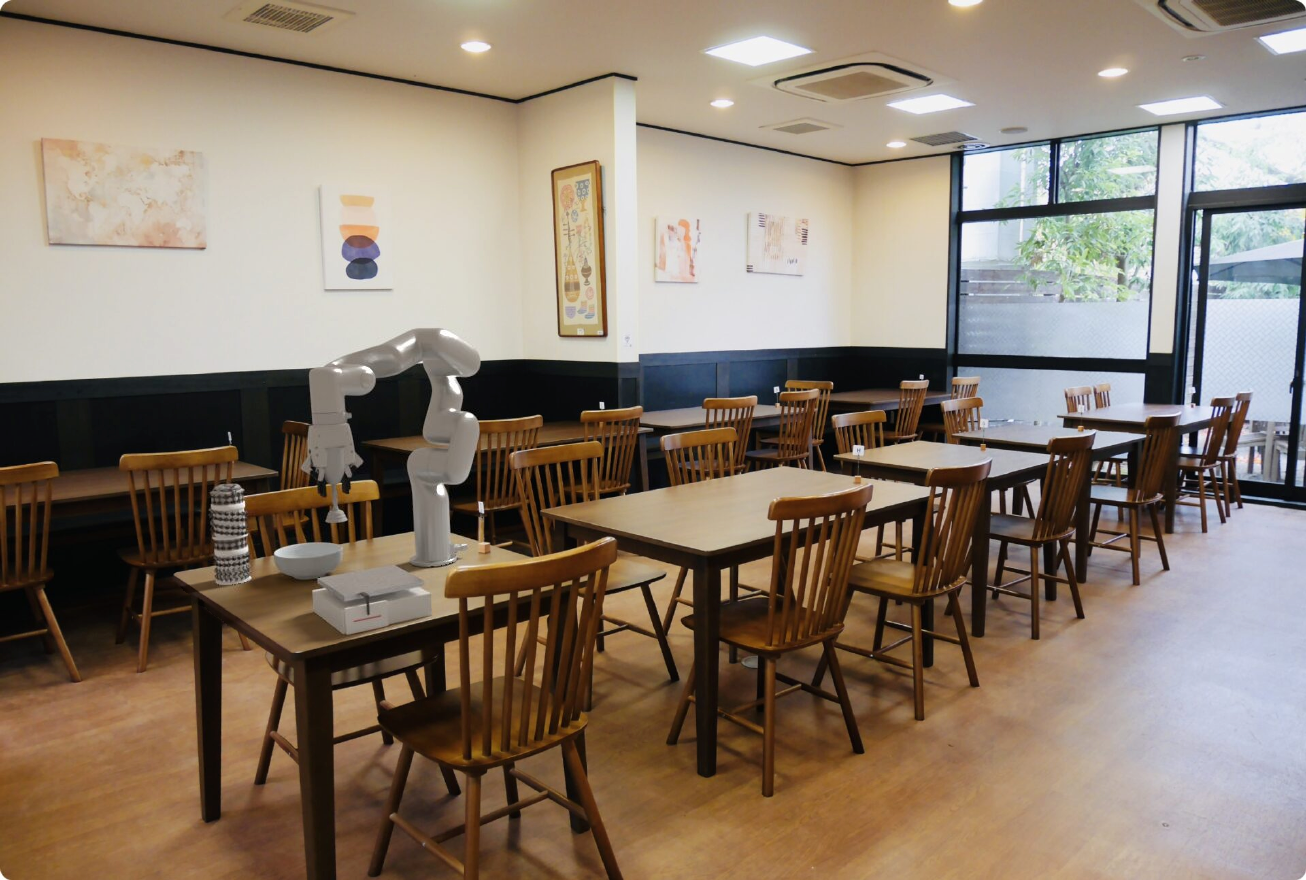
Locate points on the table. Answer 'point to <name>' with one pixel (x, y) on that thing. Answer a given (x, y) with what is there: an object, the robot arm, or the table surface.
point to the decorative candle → (229, 534)
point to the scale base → (371, 609)
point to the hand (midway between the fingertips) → (334, 494)
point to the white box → (369, 583)
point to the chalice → (335, 480)
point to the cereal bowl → (308, 559)
